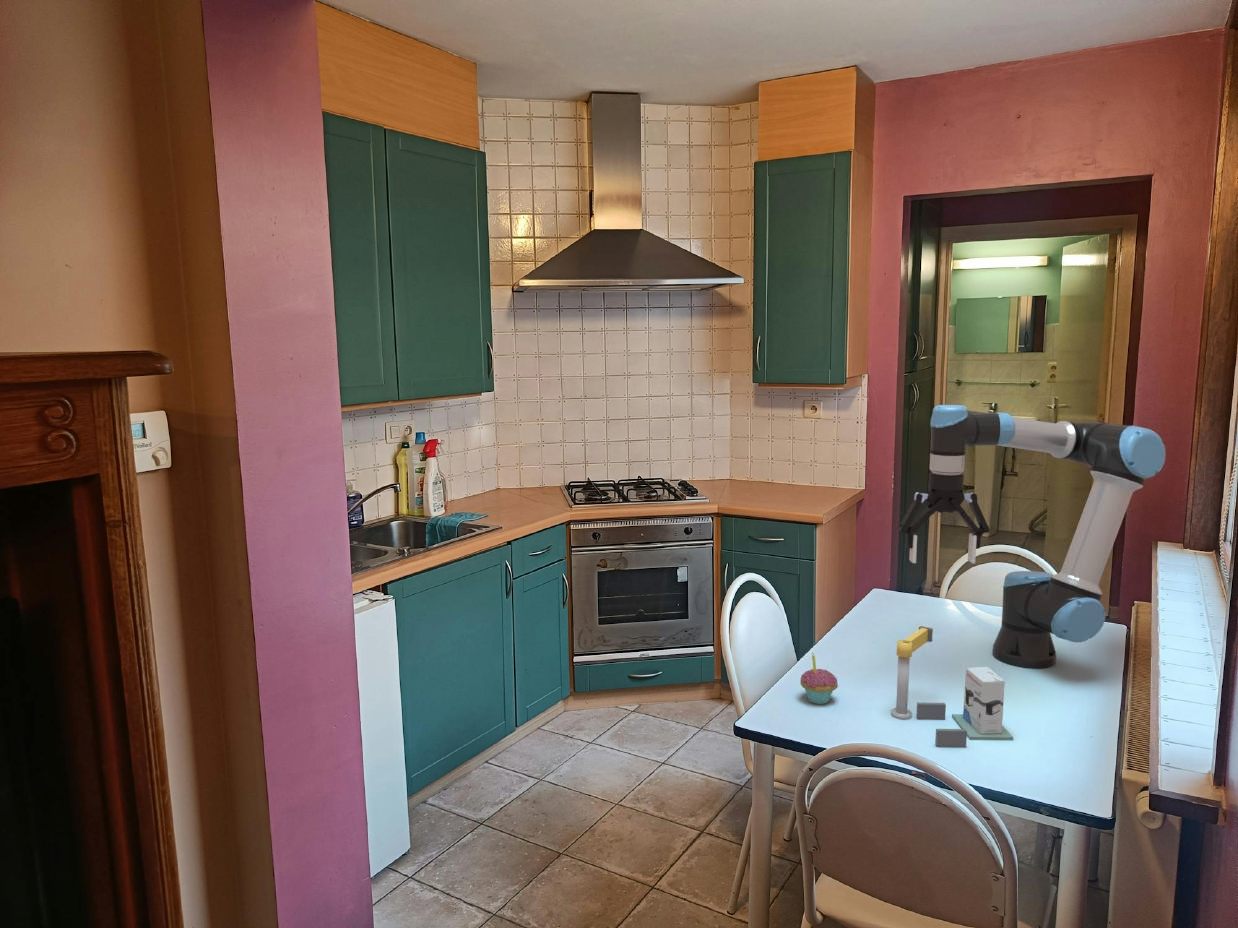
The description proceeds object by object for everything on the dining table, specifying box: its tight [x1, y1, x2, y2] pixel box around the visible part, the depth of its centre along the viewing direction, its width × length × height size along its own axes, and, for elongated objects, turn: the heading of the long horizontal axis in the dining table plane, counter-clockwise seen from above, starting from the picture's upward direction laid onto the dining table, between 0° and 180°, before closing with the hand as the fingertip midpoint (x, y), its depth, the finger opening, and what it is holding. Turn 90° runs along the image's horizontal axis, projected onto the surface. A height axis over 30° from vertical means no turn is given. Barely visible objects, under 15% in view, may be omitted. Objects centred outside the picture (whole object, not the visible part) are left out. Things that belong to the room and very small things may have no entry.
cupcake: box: [800, 652, 839, 705], centre depth 202 cm, size 9×8×12 cm
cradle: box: [890, 656, 968, 748], centre depth 187 cm, size 11×17×14 cm, turn 178°
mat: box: [951, 713, 1014, 741], centre depth 188 cm, size 9×11×1 cm
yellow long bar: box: [896, 625, 934, 658], centre depth 196 cm, size 15×3×3 cm, turn 140°
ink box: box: [962, 666, 1006, 734], centre depth 187 cm, size 8×5×12 cm, turn 3°
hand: (941, 561), depth 203 cm, fingers open, 13 cm apart
